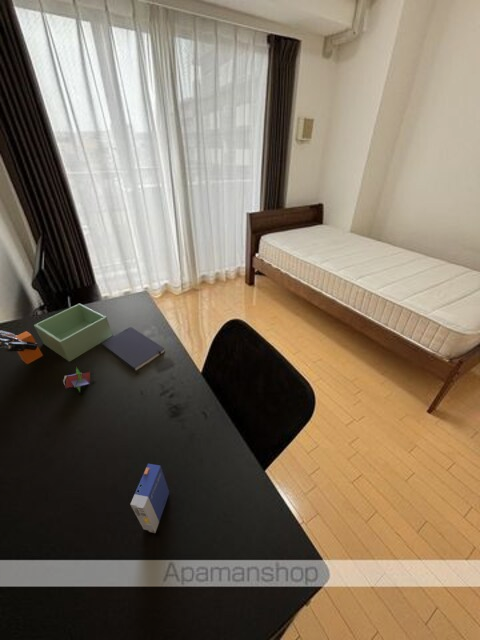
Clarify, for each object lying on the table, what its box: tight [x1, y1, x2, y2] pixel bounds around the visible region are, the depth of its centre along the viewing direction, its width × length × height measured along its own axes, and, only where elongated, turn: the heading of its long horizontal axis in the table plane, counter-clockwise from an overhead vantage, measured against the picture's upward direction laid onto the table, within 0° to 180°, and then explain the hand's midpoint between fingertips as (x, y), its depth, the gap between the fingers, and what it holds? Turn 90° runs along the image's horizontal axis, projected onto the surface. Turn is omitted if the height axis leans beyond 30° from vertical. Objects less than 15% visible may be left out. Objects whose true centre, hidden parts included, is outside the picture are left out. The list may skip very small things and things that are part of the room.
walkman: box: [130, 463, 170, 534], centre depth 57 cm, size 8×3×12 cm, turn 170°
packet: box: [12, 330, 44, 365], centre depth 92 cm, size 4×5×9 cm
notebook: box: [100, 326, 166, 372], centre depth 103 cm, size 13×2×21 cm
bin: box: [33, 303, 114, 362], centre depth 106 cm, size 18×18×9 cm
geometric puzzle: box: [62, 366, 91, 393], centre depth 87 cm, size 7×7×8 cm
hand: (33, 344), depth 93 cm, fingers closed on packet, 3 cm apart
